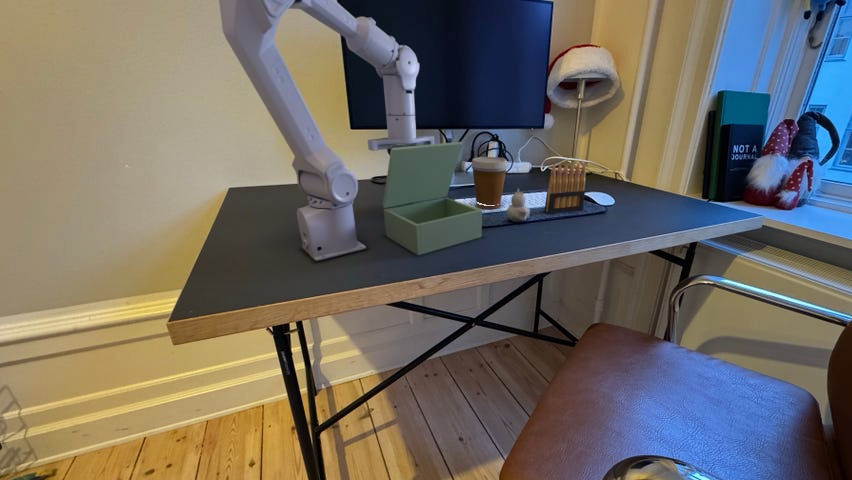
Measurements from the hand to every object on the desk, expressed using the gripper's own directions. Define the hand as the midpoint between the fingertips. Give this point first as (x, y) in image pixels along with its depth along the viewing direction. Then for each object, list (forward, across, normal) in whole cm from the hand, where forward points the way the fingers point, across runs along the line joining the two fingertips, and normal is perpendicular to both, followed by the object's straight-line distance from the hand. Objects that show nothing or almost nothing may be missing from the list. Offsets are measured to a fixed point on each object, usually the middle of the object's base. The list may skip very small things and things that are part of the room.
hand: (405, 182), depth 80 cm
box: (+9, 0, +10) cm, 14 cm away
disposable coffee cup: (+10, -24, 0) cm, 26 cm away
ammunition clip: (+10, -37, +16) cm, 41 cm away
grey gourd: (+10, -21, +14) cm, 27 cm away
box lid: (-3, 0, +7) cm, 8 cm away
